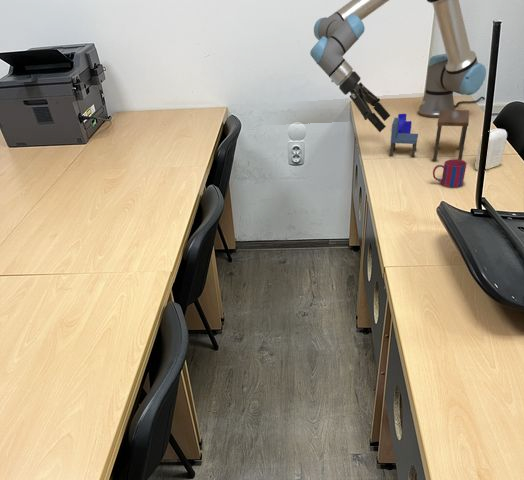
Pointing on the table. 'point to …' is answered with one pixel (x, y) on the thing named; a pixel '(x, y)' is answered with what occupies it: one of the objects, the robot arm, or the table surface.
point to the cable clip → (404, 124)
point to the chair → (402, 138)
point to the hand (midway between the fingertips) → (385, 123)
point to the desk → (452, 120)
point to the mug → (452, 173)
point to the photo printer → (494, 148)
